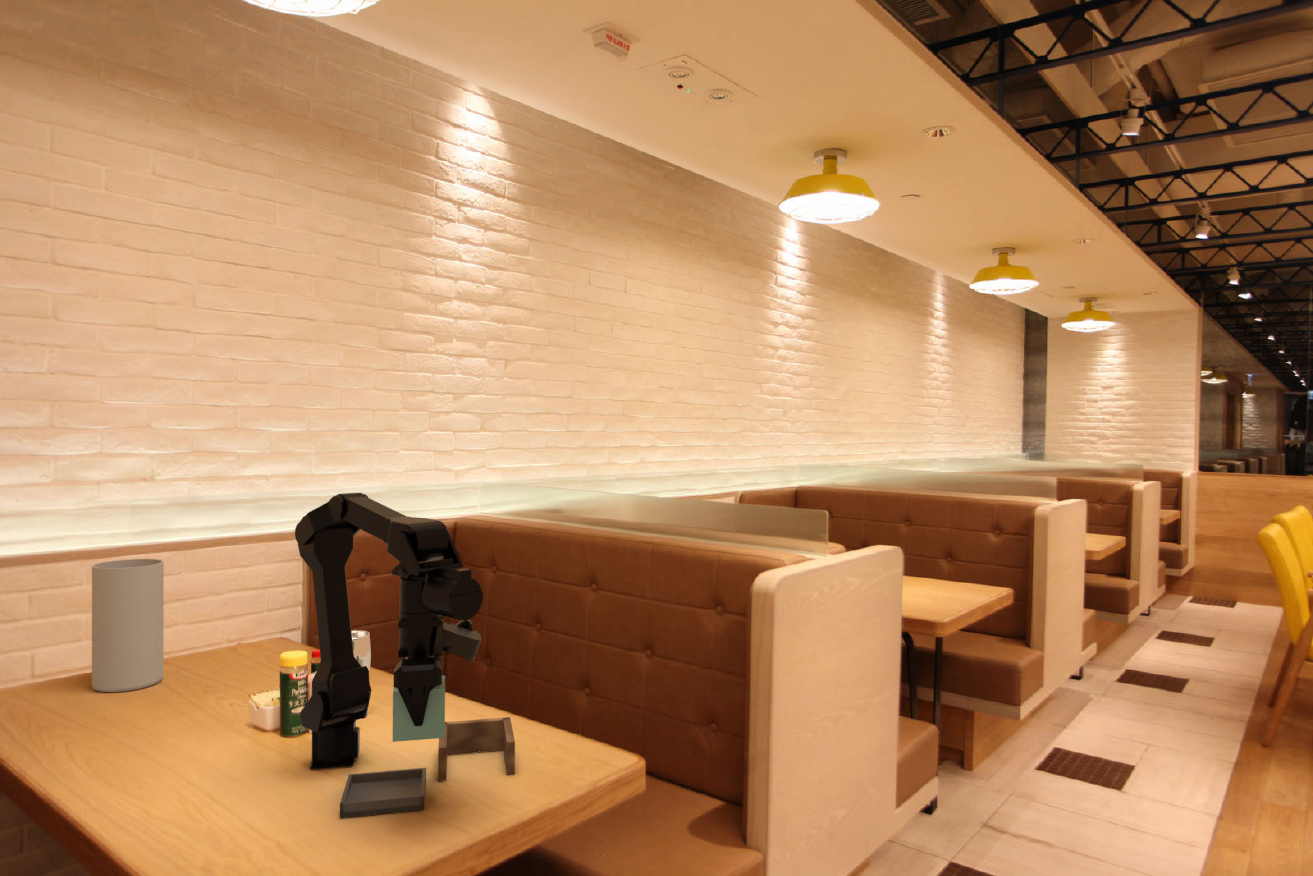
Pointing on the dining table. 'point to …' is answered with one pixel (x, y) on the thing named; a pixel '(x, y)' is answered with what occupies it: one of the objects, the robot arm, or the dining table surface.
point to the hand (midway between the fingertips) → (419, 717)
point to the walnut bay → (477, 741)
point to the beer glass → (362, 648)
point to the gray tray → (383, 793)
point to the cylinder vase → (127, 624)
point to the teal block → (432, 719)
